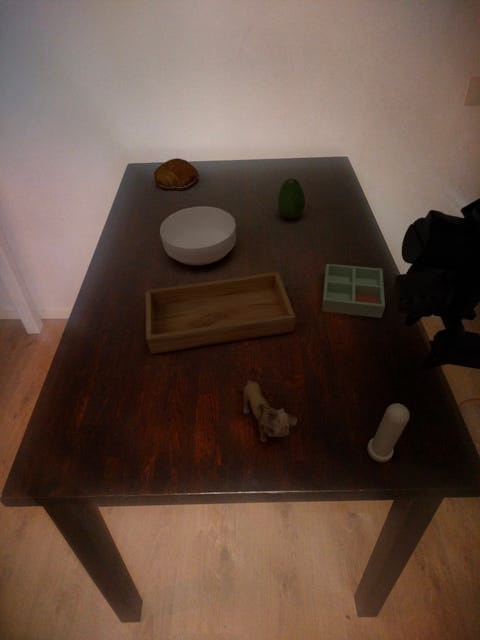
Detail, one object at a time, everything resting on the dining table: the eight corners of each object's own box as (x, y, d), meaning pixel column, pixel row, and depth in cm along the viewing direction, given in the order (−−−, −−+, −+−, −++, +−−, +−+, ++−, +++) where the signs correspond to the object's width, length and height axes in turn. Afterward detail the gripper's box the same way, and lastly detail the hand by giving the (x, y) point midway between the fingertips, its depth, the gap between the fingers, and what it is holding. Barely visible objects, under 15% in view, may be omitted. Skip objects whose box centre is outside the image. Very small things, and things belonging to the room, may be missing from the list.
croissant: (150, 190, 135) (142, 169, 129) (181, 167, 141) (174, 147, 135) (178, 201, 128) (171, 179, 122) (209, 177, 134) (204, 155, 128)
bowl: (238, 231, 111) (236, 204, 105) (236, 274, 97) (234, 247, 91) (171, 233, 112) (165, 207, 106) (160, 276, 98) (153, 249, 92)
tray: (277, 288, 93) (278, 270, 89) (294, 333, 83) (295, 315, 79) (151, 307, 91) (145, 289, 86) (151, 356, 80) (145, 339, 76)
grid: (379, 280, 94) (382, 268, 91) (381, 318, 85) (385, 306, 82) (324, 274, 96) (326, 263, 93) (321, 311, 87) (323, 299, 85)
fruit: (309, 220, 113) (313, 181, 105) (285, 227, 111) (287, 188, 103) (295, 207, 118) (297, 170, 110) (272, 214, 116) (273, 176, 108)
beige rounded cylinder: (391, 441, 65) (413, 399, 55) (392, 464, 62) (416, 423, 53) (367, 437, 66) (385, 394, 56) (367, 459, 63) (386, 419, 53)
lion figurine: (298, 442, 66) (302, 415, 59) (274, 459, 64) (275, 434, 57) (248, 384, 74) (247, 355, 68) (226, 398, 72) (222, 370, 66)
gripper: (401, 222, 56) (357, 297, 67) (439, 312, 43) (377, 387, 54) (471, 236, 57) (417, 308, 68) (528, 329, 44) (450, 399, 56)
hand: (414, 346), depth 62 cm, fingers open, 9 cm apart
